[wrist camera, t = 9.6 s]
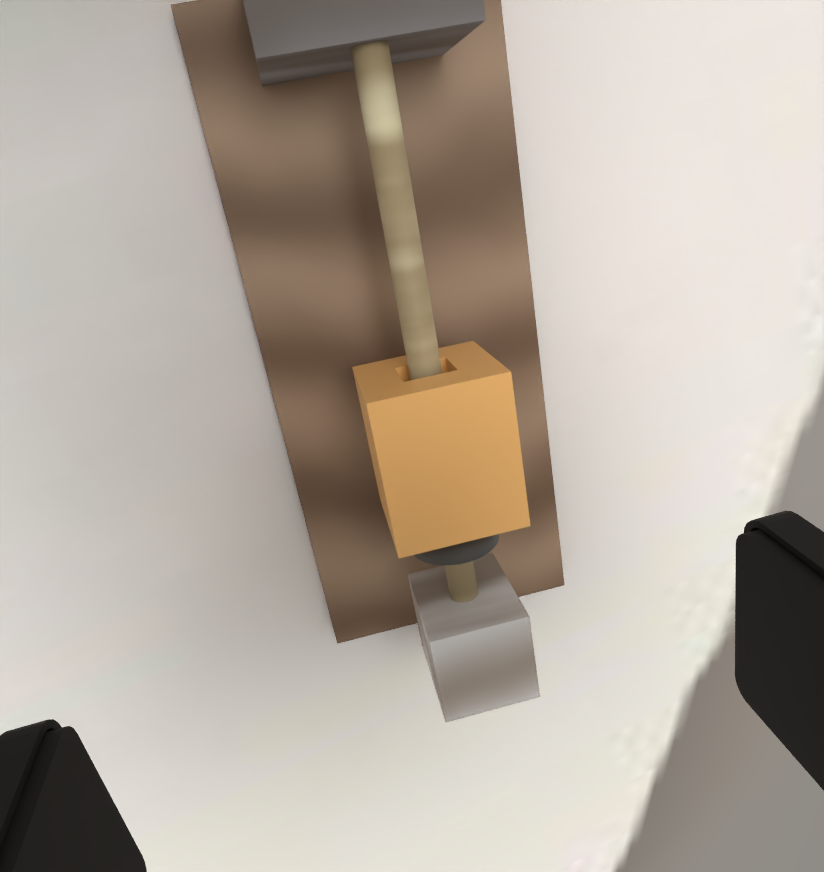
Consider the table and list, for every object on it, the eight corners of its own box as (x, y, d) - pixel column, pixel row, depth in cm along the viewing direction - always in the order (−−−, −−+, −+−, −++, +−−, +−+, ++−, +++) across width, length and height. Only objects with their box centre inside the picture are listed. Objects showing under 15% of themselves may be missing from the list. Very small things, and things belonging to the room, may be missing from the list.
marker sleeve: (351, 366, 27) (366, 403, 23) (473, 340, 28) (511, 371, 23) (380, 500, 30) (398, 558, 25) (492, 473, 30) (530, 526, 25)
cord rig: (174, 11, 25) (126, -68, 17) (488, -39, 27) (574, -133, 19) (335, 631, 36) (351, 758, 28) (557, 574, 37) (632, 681, 29)
